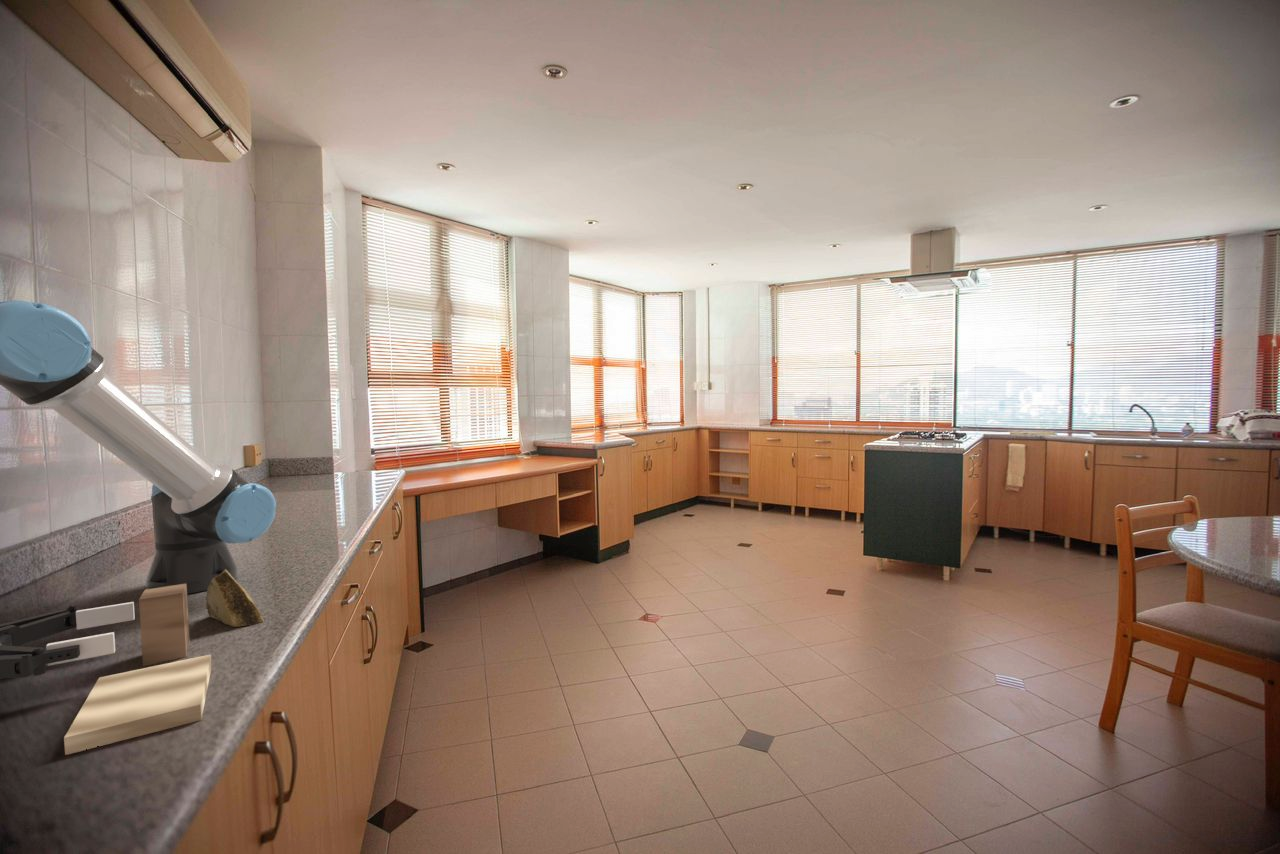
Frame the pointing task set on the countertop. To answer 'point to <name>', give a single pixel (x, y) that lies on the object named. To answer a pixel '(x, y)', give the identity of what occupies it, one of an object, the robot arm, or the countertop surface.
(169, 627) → the walnut block
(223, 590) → the rock
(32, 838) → the countertop surface
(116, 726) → the cutting board
